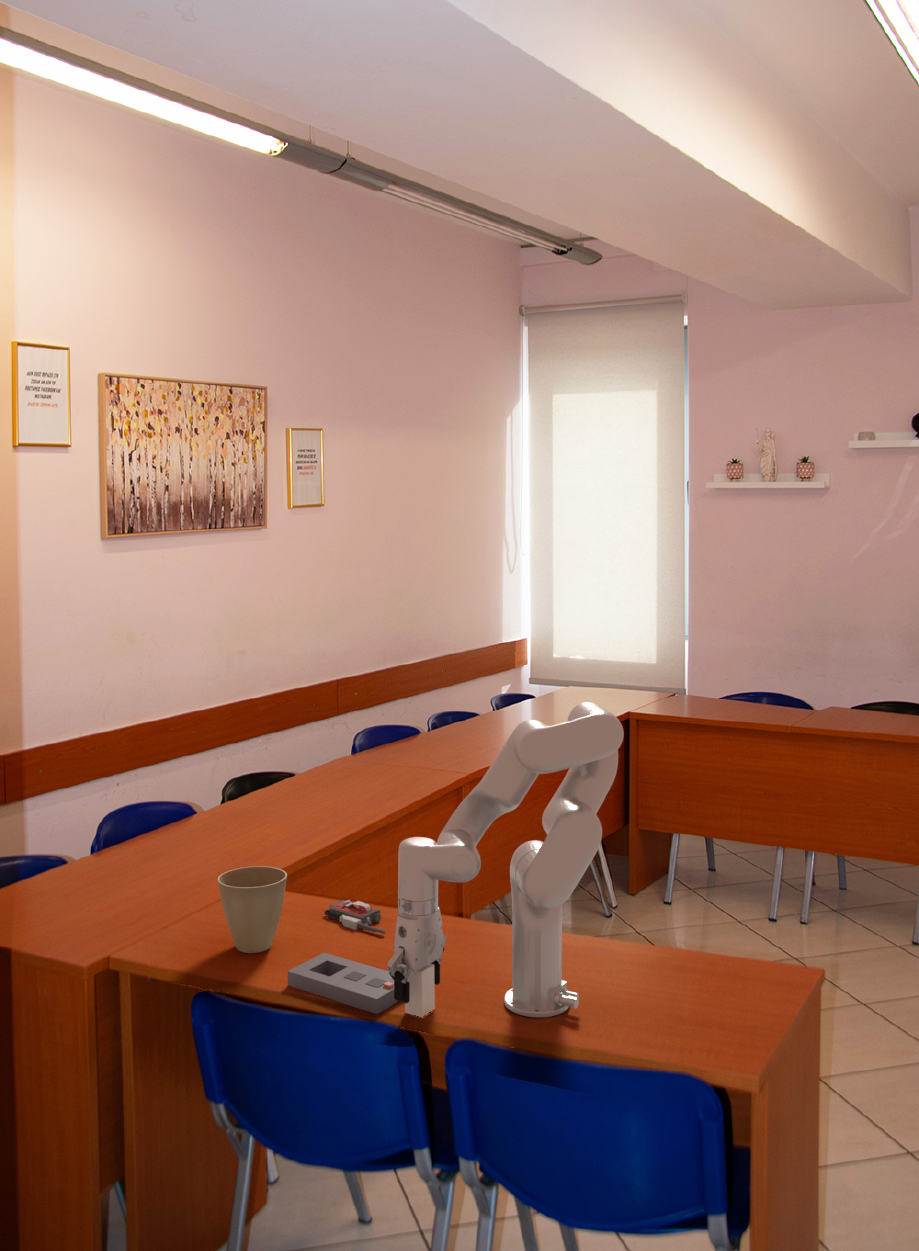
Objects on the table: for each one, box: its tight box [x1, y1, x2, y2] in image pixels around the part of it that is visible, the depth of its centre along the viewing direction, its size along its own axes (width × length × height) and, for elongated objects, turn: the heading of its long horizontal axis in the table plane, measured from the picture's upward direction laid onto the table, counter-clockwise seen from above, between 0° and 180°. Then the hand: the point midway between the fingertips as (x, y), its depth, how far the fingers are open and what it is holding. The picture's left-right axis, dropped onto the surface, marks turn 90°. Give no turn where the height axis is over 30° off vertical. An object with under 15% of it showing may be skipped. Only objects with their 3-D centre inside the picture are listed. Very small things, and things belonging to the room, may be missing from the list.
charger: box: [404, 963, 436, 1018], centre depth 199 cm, size 4×4×9 cm
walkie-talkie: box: [324, 899, 386, 935], centre depth 245 cm, size 9×4×20 cm
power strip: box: [287, 952, 399, 1015], centre depth 209 cm, size 23×11×4 cm, turn 56°
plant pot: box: [217, 865, 288, 954], centre depth 230 cm, size 15×15×16 cm
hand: (417, 991), depth 199 cm, fingers open, 9 cm apart
